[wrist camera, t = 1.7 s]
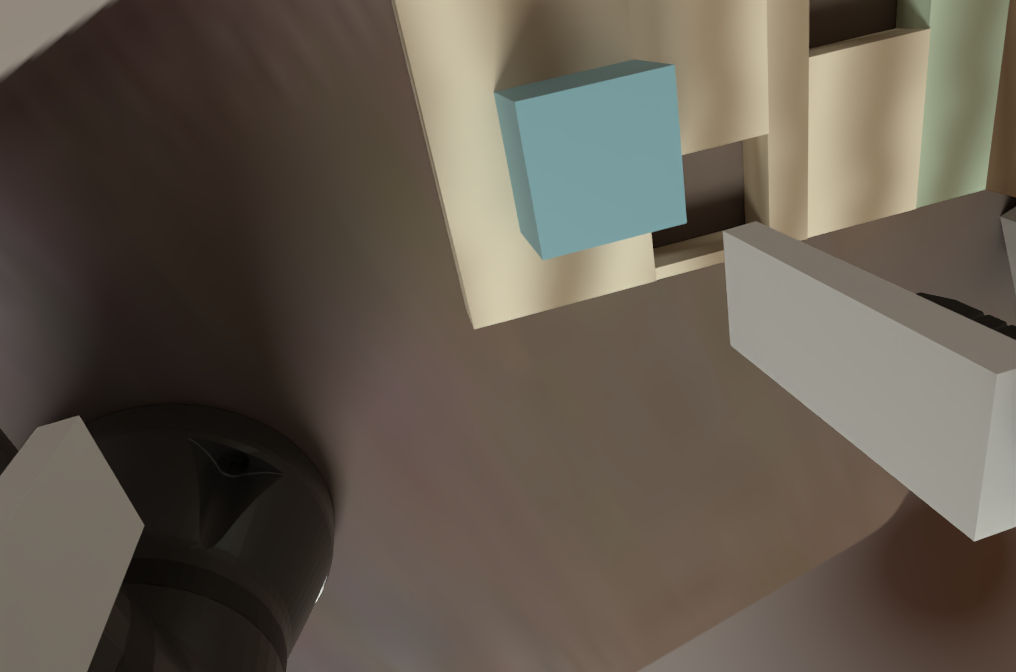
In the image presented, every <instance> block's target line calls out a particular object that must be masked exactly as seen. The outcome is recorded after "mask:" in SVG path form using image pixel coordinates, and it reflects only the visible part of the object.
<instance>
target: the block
mask: <svg viewBox="0 0 1016 672" xmlns="http://www.w3.org/2000/svg"><path fill="white" fill-rule="evenodd" d="M494 97H495V102H496V108H497V113H498V118H499V123H500V128H501V134H502V139H503V144H504V149H505V154H506V160H507V165H508V170H509V175H510V180H511V185H512V191H513V196H514V201H515V206H516V211H517V217H518V222H519V227H520V232H521V234H522V235H523V236H524V237H525V239H526V240H527V241H528V242H529V244H530V245H531V246H532V247H533V249H534V250H535V251H536V252H537V254H538V255H539V256H540V257H541V259H542V260H547V259H551V258H554V257H558V256H562V255H566V254H570V253H574V252H578V251H581V250H585V249H589V248H593V247H597V246H601V245H605V244H608V243H612V242H616V241H620V240H624V239H628V238H632V237H635V236H639V235H643V234H647V233H651V232H655V231H659V230H662V229H666V228H670V227H674V226H678V225H682V224H686V223H687V218H686V205H685V192H684V179H683V166H682V152H681V139H680V126H679V113H678V100H677V87H676V74H675V65H674V64H666V63H658V62H650V61H642V60H629V61H625V62H621V63H616V64H612V65H608V66H603V67H599V68H595V69H590V70H586V71H582V72H578V73H573V74H569V75H565V76H560V77H556V78H552V79H547V80H543V81H539V82H534V83H530V84H526V85H521V86H517V87H513V88H508V89H504V90H500V91H495V92H494Z"/></svg>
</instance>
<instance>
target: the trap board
mask: <svg viewBox="0 0 1016 672" xmlns="http://www.w3.org/2000/svg"><path fill="white" fill-rule="evenodd" d="M391 2H392V6H393V10H394V14H395V18H396V23H397V27H398V31H399V35H400V39H401V43H402V47H403V51H404V55H405V60H406V64H407V68H408V72H409V76H410V80H411V84H412V88H413V92H414V97H415V101H416V105H417V109H418V113H419V117H420V121H421V125H422V129H423V134H424V138H425V142H426V146H427V150H428V154H429V158H430V162H431V166H432V171H433V175H434V179H435V183H436V187H437V191H438V195H439V199H440V203H441V208H442V212H443V216H444V220H445V224H446V228H447V232H448V236H449V240H450V245H451V249H452V253H453V257H454V261H455V265H456V269H457V273H458V277H459V282H460V286H461V290H462V294H463V298H464V302H465V306H466V310H467V312H468V315H469V318H470V320H471V323H472V325H473V328H474V329H478V328H482V327H485V326H489V325H493V324H497V323H500V322H504V321H508V320H512V319H515V318H519V317H523V316H527V315H530V314H534V313H538V312H542V311H545V310H549V309H553V308H557V307H560V306H564V305H568V304H572V303H575V302H579V301H583V300H586V299H590V298H594V297H598V296H601V295H605V294H609V293H613V292H616V291H620V290H624V289H628V288H631V287H635V286H639V285H643V284H646V283H650V282H654V281H656V280H658V279H662V278H665V277H669V276H673V275H677V274H680V273H684V272H688V271H692V270H695V269H699V268H703V267H707V266H710V265H714V264H718V263H722V262H725V257H724V242H723V231H724V230H723V231H719V232H716V233H712V234H708V235H704V236H700V237H696V238H693V239H689V240H685V241H681V242H677V243H674V244H670V245H666V246H662V247H658V248H654V249H653V243H652V233H647V234H643V235H639V236H635V237H632V238H628V239H624V240H620V241H616V242H612V243H608V244H605V245H601V246H597V247H593V248H589V249H585V250H581V251H578V252H574V253H570V254H566V255H562V256H558V257H554V258H551V259H547V260H542V259H541V257H540V256H539V255H538V254H537V252H536V251H535V250H534V249H533V247H532V246H531V245H530V244H529V242H528V241H527V240H526V239H525V237H524V236H523V235H522V234H521V232H520V227H519V222H518V217H517V211H516V206H515V201H514V196H513V191H512V185H511V180H510V175H509V170H508V165H507V160H506V154H505V149H504V144H503V139H502V134H501V128H500V123H499V118H498V113H497V108H496V102H495V97H494V92H495V91H500V90H504V89H508V88H513V87H517V86H521V85H526V84H530V83H534V82H539V81H543V80H547V79H552V78H556V77H560V76H565V75H569V74H573V73H578V72H582V71H586V70H590V69H595V68H599V67H603V66H608V65H612V64H616V63H621V62H625V61H629V60H642V61H650V62H658V63H666V64H674V65H675V74H676V87H677V100H678V113H679V126H680V139H681V152H682V155H684V154H688V153H692V152H696V151H700V150H704V149H709V148H713V147H717V146H721V145H725V144H729V143H733V142H737V141H741V140H742V143H743V172H744V200H745V224H748V223H751V222H755V221H757V222H759V223H761V224H764V225H766V226H768V227H770V228H772V229H774V230H777V231H779V232H781V233H783V234H785V235H788V236H790V237H792V238H794V239H796V240H798V241H801V240H805V239H808V238H809V237H812V236H816V235H820V234H824V233H827V232H831V231H835V230H839V229H842V228H846V227H850V226H854V225H857V224H861V223H865V222H869V221H872V220H876V219H880V218H884V217H887V216H891V215H895V214H899V213H902V212H906V211H910V210H914V209H916V208H918V207H922V206H925V205H929V204H933V203H937V202H941V201H944V200H948V199H952V198H956V197H959V196H963V195H967V194H971V193H974V192H978V191H982V190H989V191H993V192H997V193H1000V194H1004V195H1008V196H1012V197H1016V0H897V15H896V28H895V29H891V30H887V31H882V32H878V33H874V34H870V35H865V36H861V37H857V38H853V39H848V40H844V41H840V42H836V43H832V44H827V45H823V46H819V47H815V48H810V49H809V0H392V1H391Z"/></svg>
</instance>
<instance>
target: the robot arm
mask: <svg viewBox="0 0 1016 672" xmlns="http://www.w3.org/2000/svg"><path fill="white" fill-rule="evenodd" d="M723 242H724V257H725V271H726V286H727V301H728V316H729V331H730V345H731V346H732V347H733V348H735V349H736V350H737V351H738V352H740V353H741V354H742V355H743V356H745V357H746V358H747V359H748V360H750V361H751V362H752V363H753V364H755V365H756V366H757V367H758V368H760V369H761V370H762V371H763V372H765V373H766V374H767V375H768V376H769V377H771V378H772V379H773V380H774V381H776V382H777V383H778V384H779V385H781V386H782V387H783V388H784V389H786V390H787V391H788V392H789V393H791V394H792V395H793V396H794V397H796V398H797V399H798V400H799V401H801V402H802V403H803V404H804V405H805V406H807V407H808V408H809V409H810V410H812V411H813V412H814V413H815V414H817V415H818V416H819V417H820V418H822V419H823V420H824V421H825V422H827V423H828V424H829V425H830V426H832V427H833V428H834V429H835V430H837V431H838V432H839V433H840V434H841V435H843V436H844V437H845V438H846V439H848V440H849V441H850V442H851V443H853V444H854V445H855V446H856V447H858V448H859V449H860V450H861V451H863V452H864V453H865V454H866V455H868V456H869V457H870V458H871V459H873V460H874V461H875V462H876V463H877V464H879V465H880V466H881V467H882V468H884V469H885V470H886V471H887V472H889V473H890V474H891V475H892V476H894V477H895V478H896V479H897V480H899V481H900V482H901V483H902V484H904V485H905V486H906V487H907V488H909V489H910V490H911V491H913V493H915V494H916V495H917V496H919V497H920V498H921V499H922V500H924V501H925V502H926V503H927V504H928V505H930V506H931V507H932V508H933V509H935V510H936V511H937V512H938V513H940V514H941V515H942V516H943V517H945V518H946V519H947V520H948V521H949V522H951V523H952V524H953V525H955V526H956V527H957V528H958V529H959V530H961V531H962V532H963V533H964V534H966V535H967V536H968V537H969V538H971V539H972V540H973V541H977V540H980V539H982V538H985V537H988V536H991V535H994V534H996V533H999V532H1002V531H1005V530H1008V529H1010V528H1013V527H1016V326H1014V325H1010V326H1007V324H1006V322H1005V321H1002V320H1000V319H998V318H995V317H993V316H991V315H986V316H985V315H984V314H983V312H982V311H980V310H977V309H975V308H973V307H970V306H968V305H966V304H964V303H961V302H959V301H957V300H954V299H949V298H944V297H939V296H935V295H930V294H925V293H917V294H914V293H912V292H910V291H907V290H905V289H903V288H901V287H899V286H897V285H894V284H892V283H890V282H888V281H886V280H883V279H881V278H879V277H877V276H875V275H873V274H870V273H868V272H866V271H864V270H862V269H859V268H857V267H855V266H853V265H851V264H849V263H846V262H844V261H842V260H840V259H838V258H835V257H833V256H831V255H829V254H827V253H825V252H822V251H820V250H818V249H816V248H814V247H812V246H809V245H807V244H805V243H803V242H801V241H798V240H796V239H794V238H792V237H790V236H788V235H785V234H783V233H781V232H779V231H777V230H774V229H772V228H770V227H768V226H766V225H764V224H761V223H759V222H757V221H755V222H751V223H748V224H745V225H741V226H738V227H734V228H731V229H727V230H724V231H723ZM333 545H334V511H333V505H332V501H331V497H330V494H329V491H328V489H327V487H326V484H325V482H324V480H323V479H322V477H321V475H320V473H319V472H318V470H317V469H316V467H315V466H314V465H313V464H312V462H311V461H310V460H309V459H308V458H307V456H306V455H305V454H304V453H303V452H302V451H301V450H300V449H298V448H297V447H296V446H295V445H294V444H293V443H291V442H290V441H289V440H288V439H286V438H285V437H283V436H282V435H280V434H279V433H277V432H276V431H274V430H272V429H270V428H269V427H267V426H265V425H263V424H261V423H259V422H257V421H254V420H252V419H249V418H247V417H244V416H241V415H238V414H235V413H232V412H228V411H224V410H220V409H215V408H210V407H203V406H196V405H179V404H168V405H153V406H144V407H138V408H132V409H128V410H124V411H120V412H116V413H113V414H110V415H107V416H104V417H102V418H99V419H96V420H94V421H92V422H90V423H88V424H86V425H85V424H84V423H83V421H82V419H81V418H80V416H75V417H72V418H68V419H65V420H61V421H58V422H54V423H51V424H47V425H44V426H40V427H37V428H36V429H35V431H34V432H33V433H32V435H31V436H30V437H29V439H28V440H27V441H26V443H25V444H24V445H23V447H22V448H21V449H20V451H18V450H17V449H16V447H15V446H14V445H13V444H12V442H11V441H10V440H9V439H8V437H7V436H6V435H5V434H4V432H3V431H2V430H1V429H0V672H286V666H287V659H288V657H289V655H290V653H291V651H292V649H293V647H294V645H295V643H296V641H297V639H298V637H299V635H300V633H301V632H302V630H303V627H304V625H305V623H306V621H307V619H308V617H309V615H310V613H311V611H312V609H313V607H314V604H315V603H316V601H317V599H318V598H319V596H320V595H321V593H322V591H323V589H324V586H325V584H326V581H327V578H328V576H329V572H330V568H331V564H332V558H333Z"/></svg>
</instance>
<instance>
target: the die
mask: <svg viewBox="0 0 1016 672" xmlns="http://www.w3.org/2000/svg"><path fill="white" fill-rule="evenodd" d="M1000 219H1001V224H1002V229H1003V234H1004V239H1005V244H1006V249H1007V254H1008V259H1009V264H1010V269H1011V274H1012V279H1013V284H1014V289H1015V294H1016V207H1014V208H1013V209H1011V210H1009V211H1008V212H1006V213H1005V214H1003V215H1002V216H1000Z"/></svg>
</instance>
